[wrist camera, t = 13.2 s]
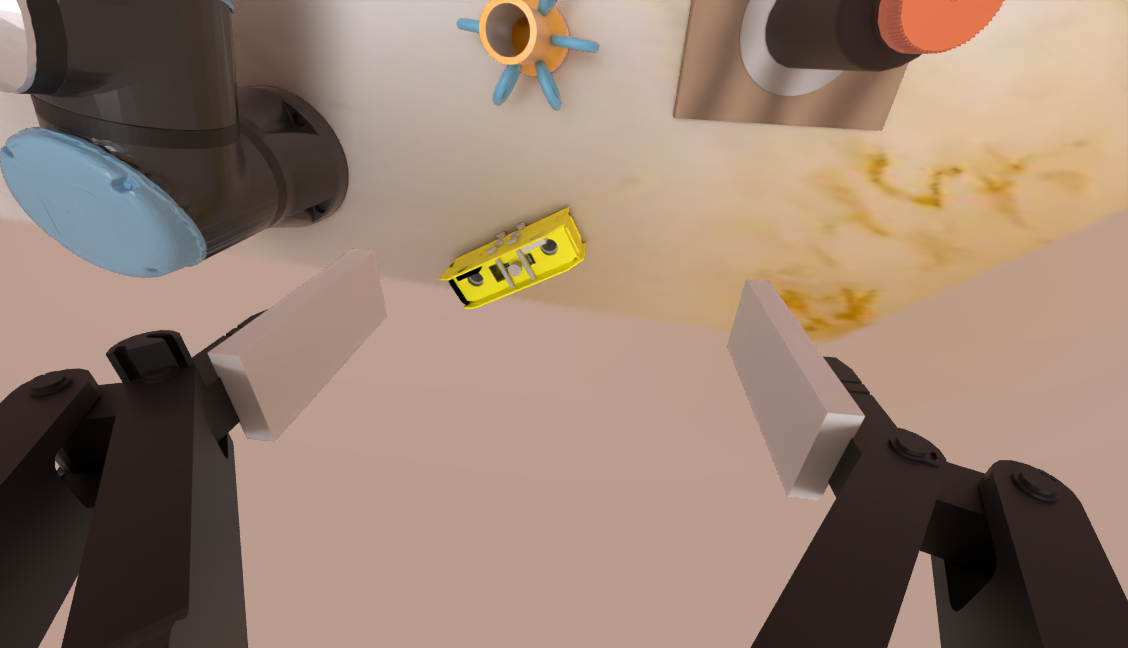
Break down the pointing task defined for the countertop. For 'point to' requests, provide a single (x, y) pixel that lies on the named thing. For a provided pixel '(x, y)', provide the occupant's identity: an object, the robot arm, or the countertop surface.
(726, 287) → the countertop surface
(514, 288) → the yellow toy chassis
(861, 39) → the vinegar
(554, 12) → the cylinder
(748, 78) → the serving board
